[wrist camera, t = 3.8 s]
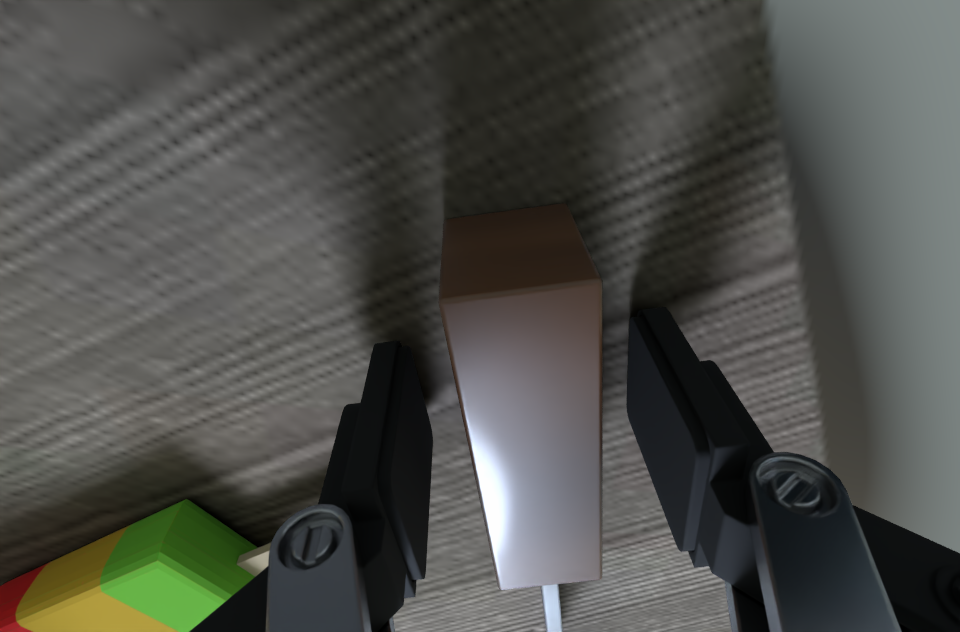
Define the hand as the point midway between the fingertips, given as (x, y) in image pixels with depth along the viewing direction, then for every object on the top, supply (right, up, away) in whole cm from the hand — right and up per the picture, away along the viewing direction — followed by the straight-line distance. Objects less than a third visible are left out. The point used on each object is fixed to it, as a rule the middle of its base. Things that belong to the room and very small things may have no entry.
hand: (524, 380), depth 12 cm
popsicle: (-9, -6, +4) cm, 12 cm away
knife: (+1, -3, +3) cm, 5 cm away
